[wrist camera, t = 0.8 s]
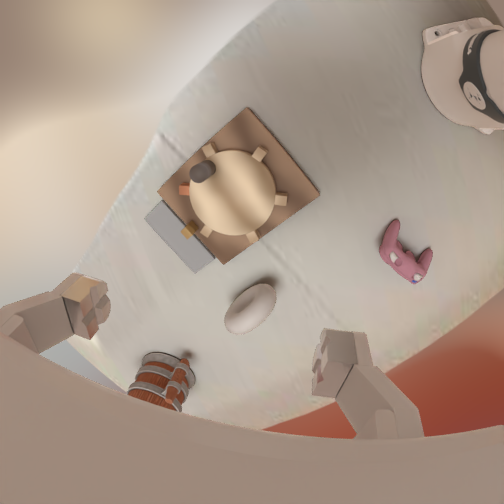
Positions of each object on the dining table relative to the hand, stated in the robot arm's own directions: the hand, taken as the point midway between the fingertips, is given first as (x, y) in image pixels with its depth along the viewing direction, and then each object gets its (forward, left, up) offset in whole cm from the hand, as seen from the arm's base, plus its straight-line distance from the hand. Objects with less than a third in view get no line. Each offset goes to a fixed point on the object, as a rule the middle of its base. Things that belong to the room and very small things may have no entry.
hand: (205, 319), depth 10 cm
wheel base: (+8, -1, -35) cm, 36 cm away
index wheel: (+8, -1, -33) cm, 34 cm away
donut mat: (+21, -1, -35) cm, 40 cm away
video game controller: (-8, +23, -35) cm, 42 cm away
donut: (+17, +15, -35) cm, 42 cm away
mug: (+48, +21, -35) cm, 63 cm away
